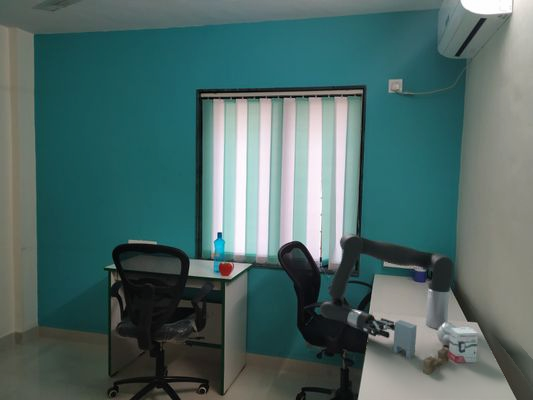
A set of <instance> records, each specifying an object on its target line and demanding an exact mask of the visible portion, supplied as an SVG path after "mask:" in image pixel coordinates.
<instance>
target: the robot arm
mask: <svg viewBox="0 0 533 400" xmlns="http://www.w3.org/2000/svg"><path fill="white" fill-rule="evenodd" d="M339 245H340V248H341V249H342V256H341V260H340V263H339V266H338V267H337V270H336V271H335V273H334V275H333V277H332V280H331V284H330V286H329V289H328V295H329V296H330V297H331V301H324V302H323V303H322V304H321V305H320V306H319V312H320V314H321V315H322V316H323V317H324V318H327V319H329V320H332V321H333V320H335V321H337V322H342V323H344V324H345V325H349V326H351V327H353V328H355V329H358V330H360V331H363V333H366V334H368V335H370V336H371V337H372V336H373V337H376V336H378V337H379V336H382V337H384V338H387V339H388V338H390V331H387V330H391V331H394V329H395V322H394V321H393V320H389V319H386V318H383V317H381V318H380V319H376V318H375V316H374V315H373V314H371V313H367V312H365V311H362V310H359V309H355V308H351V307H348V306H344V296H345V293H346V289H347V286H348V283H349V280H350V278H351V275H352V272H353V270H354V268H355V265H356V263H357V261H358V259H359V257H360V255H366V256H368V257H372V258H374V259H377V260H379V261H382V262H384V263H388V264H392V265H395V266H396V265H397V266H400V267H401V266H403V267H412V266H413V267H419V268H423V269H425V270H428V271H430V272H432V275H431V276H432V277H431V280H430V281H428V284H427V285H428V286H427V301H426V302H427V304H426V316H425V317H426V318H425V325H426V326H427V327H430V328H432V329H437V330H438V329H439V327H440V326H442V325H443V324H444V323H445V322H449V308H450V307H449V306H450V297H451V287H452V285H453V279H454V270H455V268H454V267H455V266H454V262H453V260H452V259H451V258H450V257H448V256H446V255H444V254H442V253H439V252H438V253H437V252H429V251H422V250H417V249H415V248H411V247H409V246H406V245H401V244H398V243H391V242H387V241H380V240H372V239H370V238H365V237H362V236H360V235H357V234H354V233H346V234H344V235H343V236H342V237H340V239H339Z"/></svg>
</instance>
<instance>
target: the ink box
mask: <svg viewBox="0 0 533 400" xmlns="http://www.w3.org/2000/svg"><path fill="white" fill-rule="evenodd" d="M478 337H479V332H477V331H476V330H475V329H473V328H472V327H469V326H465V327H456V328H451V330H450V345H449V346H448V347H449V348H448V349H449V359H450V360H452V361H453V362H454V363H476V362H477V349H478Z"/></svg>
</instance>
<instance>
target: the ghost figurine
mask: <svg viewBox="0 0 533 400" xmlns="http://www.w3.org/2000/svg"><path fill="white" fill-rule="evenodd" d="M451 328H457V326H455V325H454V324H453V323H452V322H449V321H448V322H445V323H444V324H443V325H442V326H440V327H439V329H437V332H436V335H437V338H438V340H439V342H440V343H441V344H443V346H447V347H449V345H450V330H451Z"/></svg>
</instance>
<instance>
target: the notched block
mask: <svg viewBox="0 0 533 400" xmlns="http://www.w3.org/2000/svg"><path fill="white" fill-rule="evenodd" d="M394 325H395V329H394V330H393V331H394V333H393V348H392V350H393V353H396V354H398V353H400V352H401V351H403V349H405V350H406V352H405V353H406V354H405V357H406V358H407V359H411V358H412V357H414V356H416V343H417V341H416V340H417V327H418V326H417V325H416V324H413V323H410V322H407V321H405V320H401V319H400V320H396V321H395V322H394Z"/></svg>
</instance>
